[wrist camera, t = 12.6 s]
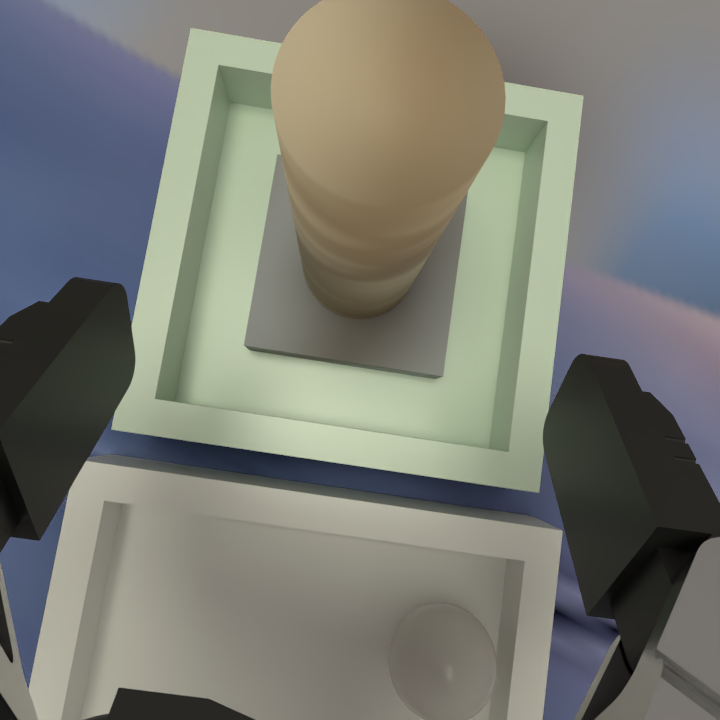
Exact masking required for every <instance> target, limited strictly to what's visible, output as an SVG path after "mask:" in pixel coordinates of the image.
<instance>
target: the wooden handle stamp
mask: <svg viewBox="0 0 720 720" xmlns="http://www.w3.org/2000/svg"><path fill="white" fill-rule="evenodd" d="M505 100H506V96H505V83H504V79H503V74H502V70H501V67H500V64H499V61H498V58H497V55H496V54H495V52H494V50H493V48H492V46H491V44H490V42H489V41H488V39H487V38H486V36H485V35H484V33H483V32H482V30H481V29H480V28H479V27H478V26H477V25H476V24H475V23H474V21H473V20H472V19H471V18H470V17H468V16H467V15H466V14H465V13H464V12H463V11H461V10H460V9H459V8H458V7H456V6H454V5H453V4H452V3H450V2H449V1H447V0H322V1H321V2H319V3H318V4H317V5H315V6H314V7H312V8H311V9H310V10H308V11H307V12H306V13H305V14H304V15H303V16H302V17H301V18H300V19H299V20H298V21H297V22H296V24H295V25H294V26H293V28H292V29H291V30H290V31H289V33H288V34H287V36H286V38H285V39H284V41H283V43H282V45H281V47H280V49H279V52H278V54H277V57H276V60H275V64H274V68H273V72H272V80H271V103H272V109H273V115H274V120H275V125H276V131H277V136H278V141H279V146H280V152H281V155H279V154H277V159H276V165H275V171H274V176H273V182H272V188H271V193H270V199H269V205H268V210H267V216H266V222H265V227H264V233H263V239H262V244H261V250H260V256H259V262H258V267H257V273H256V279H255V284H254V290H253V296H252V301H251V307H250V313H249V318H248V324H247V330H246V335H245V341H244V346H245V347H246V348H248V349H249V350H251V351H257V352H264V353H270V354H277V355H283V356H290V357H296V358H303V359H309V360H315V361H322V362H328V363H335V364H341V365H348V366H354V367H360V368H367V369H373V370H380V371H386V372H393V373H399V374H405V375H412V376H418V377H425V378H431V379H438V378H440V377H443V373H444V366H445V358H446V351H447V343H448V336H449V329H450V321H451V314H452V306H453V299H454V292H455V284H456V277H457V269H458V262H459V255H460V247H461V240H462V232H463V225H464V217H465V210H466V203H467V195H468V190H469V188H470V187H471V185H472V183H473V182H474V180H475V178H476V177H477V175H478V173H479V171H480V170H481V168H482V166H483V165H484V163H485V161H486V160H487V158H488V156H489V155H490V153H491V151H492V149H493V147H494V145H495V143H496V141H497V139H498V136H499V133H500V131H501V128H502V124H503V119H504V114H505Z"/></svg>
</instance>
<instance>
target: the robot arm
mask: <svg viewBox="0 0 720 720" xmlns="http://www.w3.org/2000/svg"><path fill="white" fill-rule="evenodd" d="M134 370H135V348H134V341H133V335H132V328H131V321H130V314H129V308H128V301H127V295H126V291H125V289H124V287H123V286H122V285H121V284H118V283H111V282H105V281H98V280H91V279H85V278H78V277H75V278H72V279H70V280H69V281H68V282H67V283H66V285H65V286H64V287H63V288H62V289H61V290H60V291H59V292H58V293H57V294H56V295H55V296H54V298H53V299H52V300H51V301H50V302H49V303H48V302H41V301H38V302H37V303H35V304H33V305H31V306H29V307H27V308H25V309H23V310H21V311H19V312H17V313H16V314H14V315H12V316H10V317H9V318H8V319H7V320H6V321H5V322H4V323H3V324H2V325H1V326H0V552H1V550H2V549H3V547H4V546H5V544H6V543H7V541H8V539H9V538H10V537H16V538H24V539H31V540H39V541H40V539H41V537H42V535H43V534H44V532H45V530H46V529H47V527H48V525H49V523H50V522H51V520H52V518H53V517H54V515H55V513H56V512H57V510H58V508H59V506H60V505H61V503H62V501H63V500H64V498H65V496H66V494H67V493H68V491H69V489H70V488H71V486H72V484H73V482H74V481H75V479H76V477H77V476H78V474H79V472H80V470H81V469H82V467H83V465H84V464H85V462H86V460H87V458H88V457H89V455H90V453H91V452H92V450H93V448H94V446H95V445H96V443H97V441H98V440H99V438H100V436H101V435H102V433H103V431H104V429H105V428H106V426H107V424H108V423H109V421H110V419H111V417H112V416H113V414H114V412H115V411H116V409H117V407H118V405H119V404H120V402H121V400H122V399H123V397H124V395H125V393H126V392H127V390H128V388H129V386H130V384H131V381H132V378H133V375H134ZM543 447H544V452H545V455H546V459H547V463H548V467H549V471H550V475H551V479H552V483H553V487H554V490H555V494H556V498H557V502H558V506H559V510H560V514H561V518H562V521H563V525H564V529H565V533H566V537H567V541H568V545H569V549H570V553H571V556H572V560H573V564H574V568H575V572H576V576H577V580H578V584H579V587H580V591H581V595H582V599H583V603H584V607H585V611H586V615H587V616H594V617H601V618H609V619H615V621H616V624H617V628H618V631H619V635H618V637H617V638H616V639H615V640H614V641H613V643H612V644H611V646H610V648H609V650H608V652H607V654H606V656H605V658H604V660H603V662H602V664H601V666H600V668H599V670H598V672H597V674H596V676H595V678H594V680H593V682H592V685H591V687H590V689H589V691H588V693H587V695H586V697H585V699H584V701H583V703H582V705H581V707H580V709H579V711H578V713H577V715H576V717H575V719H574V720H720V503H719V501H718V499H717V497H716V495H715V494H714V492H713V490H712V488H711V486H710V484H709V482H708V480H707V478H706V477H705V475H704V473H703V471H702V469H701V467H700V465H699V464H696V463H695V461H696V458H695V456H694V454H693V452H692V450H691V448H690V447H689V445H688V444H686V443H685V437H684V435H683V433H682V431H681V430H680V428H679V426H678V424H677V422H676V420H675V418H674V416H673V415H672V414H671V413H670V412H669V411H668V410H667V409H666V408H665V407H664V406H663V405H662V404H661V403H660V402H659V401H658V400H657V399H656V398H655V397H654V396H653V395H652V394H651V393H650V392H643V391H642V390H641V388H640V386H639V384H638V382H637V380H636V378H635V376H634V374H633V372H632V370H631V368H630V366H629V364H628V363H627V362H626V361H624V360H620V359H613V358H606V357H600V356H593V355H586V354H580V355H578V356H577V357H576V358H575V359H574V361H573V362H572V364H571V366H570V368H569V370H568V372H567V374H566V376H565V378H564V381H563V383H562V385H561V387H560V389H559V391H558V393H557V395H556V397H555V399H554V401H553V403H552V405H551V407H550V410H549V412H548V414H547V416H546V419H545V423H544V428H543ZM0 720H38V717H37V714H36V710H35V707H34V704H33V701H32V698H31V696H30V693H29V690H28V688H27V684H26V681H25V678H24V674H23V670H22V665H21V661H20V656H19V651H18V646H17V641H16V636H15V631H14V626H13V621H12V616H11V611H10V607H9V602H8V597H7V592H6V587H5V582H4V577H3V572H2V567H1V564H0ZM84 720H255V719H253V718H251V717H248V716H246V715H244V714H242V713H240V712H237V711H235V710H233V709H231V708H228V707H226V706H224V705H222V704H220V703H217V702H215V701H213V700H211V699H208V698H200V697H192V696H184V695H176V694H168V693H160V692H152V691H144V690H135V689H127V688H118V690H117V693H116V696H115V698H114V701H113V704H112V707H111V709H110V712H109V714H103V715H98V716H94V717H91V718H87V719H84Z"/></svg>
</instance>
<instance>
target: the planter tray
mask: <svg viewBox="0 0 720 720" xmlns="http://www.w3.org/2000/svg"><path fill="white" fill-rule="evenodd" d="M281 45H282V44H281V43H275V42H270V41H263V40H258V39H252V38H246V37H241V36H235V35H229V34H223V33H217V32H212V31H206V30H200V29H194V28H191V30H190V35H189V40H188V45H187V50H186V55H185V60H184V65H183V70H182V75H181V80H180V85H179V90H178V95H177V100H176V105H175V110H174V115H173V120H172V125H171V131H170V136H169V141H168V146H167V151H166V156H165V161H164V166H163V171H162V176H161V181H160V186H159V191H158V196H157V201H156V206H155V211H154V216H153V221H152V226H151V232H150V237H149V242H148V247H147V252H146V257H145V262H144V267H143V272H142V277H141V282H140V287H139V292H138V297H137V302H136V307H135V312H134V317H133V322H132V327H131V328H132V335H133V341H134V348H135V370H134V375H133V378H132V381H131V384H130V386H129V388H128V390H127V392H126V393H125V395H124V397H123V399H122V400H121V402H120V404H119V405H118V407H117V409H116V411H115V413H114V418H113V423H112V429H111V430H118V431H124V432H131V433H138V434H145V435H151V436H158V437H165V438H172V439H178V440H185V441H192V442H199V443H205V444H212V445H219V446H226V447H232V448H239V449H246V450H253V451H259V452H266V453H273V454H280V455H286V456H293V457H300V458H307V459H313V460H320V461H327V462H334V463H340V464H347V465H354V466H361V467H367V468H374V469H381V470H388V471H394V472H401V473H408V474H415V475H421V476H428V477H435V478H442V479H448V480H455V481H462V482H469V483H475V484H482V485H489V486H496V487H502V488H509V489H516V490H523V491H529V492H536V493H539V489H540V480H541V471H542V463H543V454H544V447H543V428H544V423H545V419H546V416H547V414H548V409H549V400H550V391H551V382H552V373H553V364H554V355H555V346H556V337H557V329H558V320H559V311H560V302H561V293H562V284H563V275H564V266H565V257H566V248H567V239H568V230H569V221H570V212H571V203H572V195H573V186H574V177H575V168H576V159H577V150H578V140H579V131H580V123H581V114H582V105H583V96H581V95H576V94H569V93H564V92H558V91H552V90H547V89H541V88H535V87H529V86H524V85H518V84H512V83H506V82H504V83H505V96H506V100H505V114H504V119H503V124H502V128H501V131H500V133H499V136H498V139H497V141H496V143H495V145H494V147H493V149H492V151H491V153H490V155H489V156H488V158H487V160H486V161H485V163H484V165H483V166H482V168H481V170H480V171H479V173H478V175H477V177H476V178H475V180H474V182H473V183H472V185H471V187H470V188H469V190H468V195H467V203H466V210H465V217H464V225H463V232H462V240H461V247H460V255H459V262H458V269H457V277H456V284H455V292H454V299H453V306H452V314H451V321H450V329H449V336H448V343H447V351H446V358H445V366H444V373H443V377H440V378H438V379H431V378H425V377H418V376H412V375H405V374H399V373H393V372H386V371H380V370H373V369H367V368H360V367H354V366H348V365H341V364H335V363H328V362H322V361H315V360H309V359H303V358H296V357H290V356H283V355H277V354H270V353H264V352H257V351H251V350H249V349H248V348H246V347H245V346H244V341H245V335H246V330H247V324H248V318H249V313H250V307H251V301H252V296H253V290H254V284H255V279H256V273H257V267H258V262H259V256H260V250H261V244H262V239H263V233H264V227H265V222H266V216H267V210H268V205H269V199H270V193H271V188H272V182H273V176H274V171H275V165H276V159H277V154H279V155H281V152H280V146H279V141H278V136H277V131H276V125H275V120H274V115H273V109H272V103H271V80H272V72H273V68H274V64H275V60H276V57H277V54H278V52H279V49H280V47H281Z"/></svg>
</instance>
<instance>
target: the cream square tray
mask: <svg viewBox="0 0 720 720" xmlns="http://www.w3.org/2000/svg"><path fill="white" fill-rule="evenodd" d="M562 532H563V531H562V530H560V529H558V528H556V527H554V526H552V525H550V524H548V523H546V522H544V521H542V520H540V519H538V518H535V517H533V516H530V515H523V514H516V513H510V512H503V511H496V510H489V509H482V508H475V507H469V506H462V505H455V504H448V503H441V502H435V501H428V500H421V499H414V498H407V497H400V496H394V495H387V494H380V493H373V492H366V491H360V490H353V489H346V488H339V487H332V486H326V485H319V484H312V483H305V482H298V481H291V480H285V479H278V478H271V477H264V476H257V475H251V474H244V473H237V472H230V471H223V470H216V469H210V468H203V467H196V466H189V465H182V464H176V463H169V462H162V461H155V460H148V459H142V458H135V457H128V456H121V455H114V454H107V455H100V456H94V457H88V458H87V460H86V462H85V464H84V465H83V467H82V469H81V470H80V472H79V474H78V476H77V477H76V479H75V481H74V482H73V484H72V486H71V488H70V489H69V494H68V498H67V503H66V508H65V513H64V518H63V523H62V528H61V533H60V538H59V543H58V547H57V552H56V557H55V562H54V567H53V572H52V577H51V582H50V587H49V592H48V597H47V601H46V606H45V611H44V616H43V621H42V626H41V631H40V636H39V641H38V646H37V650H36V655H35V660H34V665H33V670H32V675H31V680H30V685H29V693H30V696H31V698H32V701H33V704H34V707H35V710H36V714H37V717H38V720H84V719H87V718H91V717H94V716H98V715H103V714H109V712H110V709H111V707H112V704H113V701H114V698H115V696H116V693H117V690H118V688H127V689H135V690H144V691H152V692H160V693H168V694H176V695H184V696H192V697H200V698H208V699H211V700H213V701H215V702H217V703H220V704H222V705H224V706H226V707H228V708H231V709H233V710H235V711H237V712H240V713H242V714H244V715H246V716H248V717H251V718H253V719H255V720H424V719H422V718H420V717H419V716H417V715H416V714H414V713H413V712H412V711H411V710H410V709H409V708H408V707H407V706H406V705H405V704H404V703H403V701H402V700H401V699H400V697H399V696H398V694H397V692H396V690H395V688H394V685H393V683H392V680H391V676H390V671H389V659H388V658H389V648H390V644H391V640H392V637H393V634H394V632H395V630H396V628H397V627H398V625H399V624H400V622H401V621H402V620H403V619H404V618H405V617H406V616H407V615H408V614H409V613H410V612H412V611H413V610H415V609H416V608H418V607H420V606H423V605H426V604H430V603H449V604H453V605H456V606H459V607H461V608H463V609H465V610H467V611H468V612H470V613H471V614H472V615H473V616H475V617H476V618H477V619H478V620H479V621H480V622H481V624H482V625H483V626H484V627H485V629H486V630H487V632H488V634H489V636H490V638H491V640H492V642H493V645H494V648H495V652H496V657H497V666H498V668H497V679H496V685H495V688H494V691H493V693H492V695H491V697H490V699H489V701H488V702H487V704H486V705H485V707H484V708H483V709H482V710H481V711H480V712H479V713H478V714H477V715H475V716H474V717H473V718H471V719H469V720H543V711H544V701H545V692H546V682H547V673H548V664H549V654H550V645H551V635H552V626H553V617H554V607H555V598H556V588H557V579H558V570H559V560H560V551H561V542H562Z"/></svg>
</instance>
